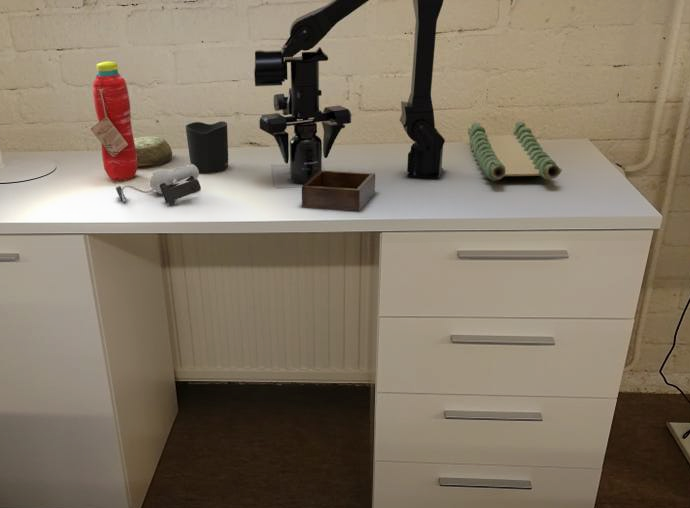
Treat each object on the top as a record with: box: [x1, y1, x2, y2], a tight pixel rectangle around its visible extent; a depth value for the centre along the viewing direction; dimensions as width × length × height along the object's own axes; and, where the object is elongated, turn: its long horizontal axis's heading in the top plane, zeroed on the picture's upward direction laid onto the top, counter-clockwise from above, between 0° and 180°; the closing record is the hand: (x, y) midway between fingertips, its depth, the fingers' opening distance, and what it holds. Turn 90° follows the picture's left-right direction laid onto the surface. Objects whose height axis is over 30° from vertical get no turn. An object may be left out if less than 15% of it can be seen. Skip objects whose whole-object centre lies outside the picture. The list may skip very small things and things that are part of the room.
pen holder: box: [185, 120, 229, 174], centre depth 178 cm, size 9×9×10 cm
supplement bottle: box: [289, 122, 323, 185], centre depth 165 cm, size 7×7×12 cm
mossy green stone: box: [133, 136, 173, 167], centre depth 188 cm, size 14×13×5 cm
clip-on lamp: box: [115, 163, 202, 206], centre depth 161 cm, size 12×6×18 cm
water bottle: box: [90, 61, 139, 182], centre depth 171 cm, size 12×8×25 cm, turn 164°
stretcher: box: [467, 120, 563, 182], centre depth 170 cm, size 41×14×5 cm, turn 173°
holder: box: [301, 169, 376, 212], centre depth 154 cm, size 12×12×4 cm
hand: (306, 160), depth 166 cm, fingers open, 9 cm apart
